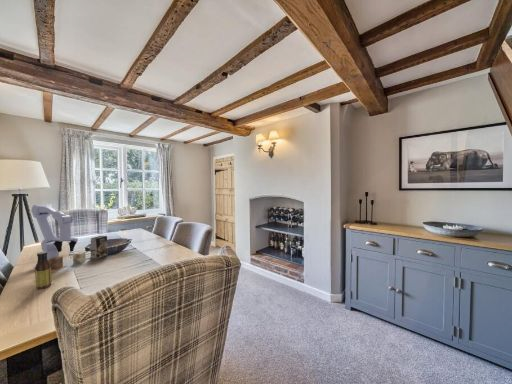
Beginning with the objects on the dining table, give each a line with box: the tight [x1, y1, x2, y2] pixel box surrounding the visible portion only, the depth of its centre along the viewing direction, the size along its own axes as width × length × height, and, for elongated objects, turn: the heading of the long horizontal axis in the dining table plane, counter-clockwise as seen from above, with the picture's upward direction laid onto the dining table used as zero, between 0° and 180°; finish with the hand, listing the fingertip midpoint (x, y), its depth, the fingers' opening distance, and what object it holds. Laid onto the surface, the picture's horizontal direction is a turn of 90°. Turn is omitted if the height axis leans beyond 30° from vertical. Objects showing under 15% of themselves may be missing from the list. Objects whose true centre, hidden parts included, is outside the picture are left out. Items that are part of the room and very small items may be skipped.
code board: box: [51, 259, 91, 273], centre depth 150 cm, size 17×22×1 cm
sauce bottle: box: [34, 251, 52, 290], centre depth 120 cm, size 6×6×20 cm
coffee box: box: [90, 235, 108, 260], centre depth 169 cm, size 9×6×16 cm
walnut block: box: [48, 255, 64, 270], centre depth 144 cm, size 5×5×7 cm
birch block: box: [72, 251, 86, 264], centre depth 156 cm, size 5×5×7 cm
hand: (65, 251), depth 152 cm, fingers open, 7 cm apart
